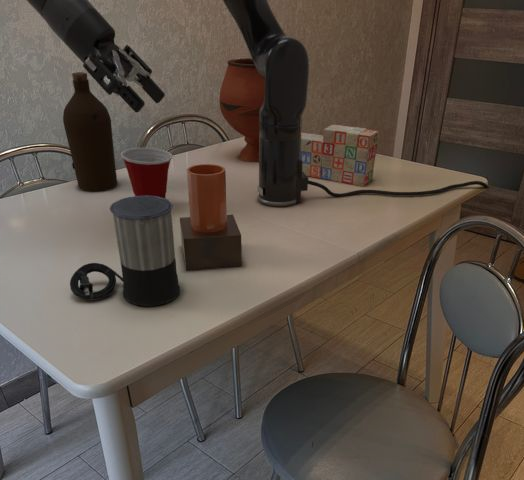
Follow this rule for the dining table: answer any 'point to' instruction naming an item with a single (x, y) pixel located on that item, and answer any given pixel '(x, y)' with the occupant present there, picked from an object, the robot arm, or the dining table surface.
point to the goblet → (243, 103)
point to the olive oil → (89, 138)
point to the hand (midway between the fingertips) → (151, 103)
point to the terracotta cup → (207, 197)
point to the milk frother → (138, 254)
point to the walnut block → (211, 246)
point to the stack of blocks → (340, 154)
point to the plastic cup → (147, 170)
